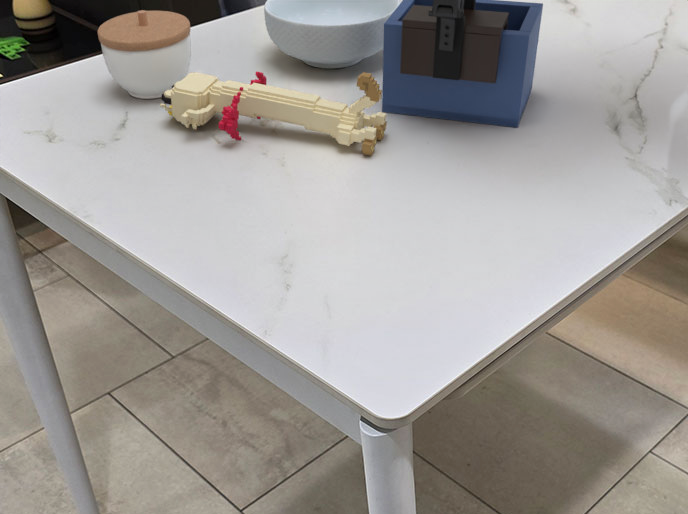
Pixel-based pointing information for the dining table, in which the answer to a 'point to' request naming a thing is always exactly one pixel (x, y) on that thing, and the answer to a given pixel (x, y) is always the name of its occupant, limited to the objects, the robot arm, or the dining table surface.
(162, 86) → the trinket box
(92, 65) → the dining table surface
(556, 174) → the dining table surface
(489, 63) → the dark brown block
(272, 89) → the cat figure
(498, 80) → the blue box
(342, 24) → the cereal bowl
